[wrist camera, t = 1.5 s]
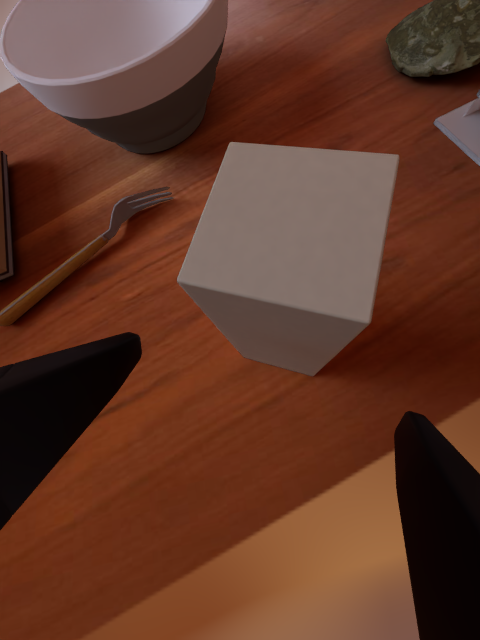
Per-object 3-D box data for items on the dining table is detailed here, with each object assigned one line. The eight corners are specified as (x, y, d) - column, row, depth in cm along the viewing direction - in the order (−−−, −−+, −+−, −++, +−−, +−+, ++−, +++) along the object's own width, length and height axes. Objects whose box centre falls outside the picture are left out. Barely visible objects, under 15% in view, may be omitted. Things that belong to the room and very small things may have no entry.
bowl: (277, 127, 27) (274, -11, 18) (108, 219, 27) (20, 125, 18) (200, 38, 33) (169, -96, 24) (64, 111, 33) (-17, 3, 24)
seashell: (371, 22, 27) (503, -137, 19) (398, 57, 31) (513, -59, 24) (410, 105, 25) (570, -31, 18) (432, 130, 30) (567, 30, 22)
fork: (-7, 330, 23) (168, 184, 24) (-20, 315, 23) (155, 170, 24) (17, 332, 25) (175, 200, 27) (6, 318, 26) (163, 187, 27)
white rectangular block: (313, 376, 19) (371, 324, 6) (243, 357, 20) (174, 281, 8) (328, 308, 20) (401, 153, 8) (261, 294, 22) (229, 140, 9)
